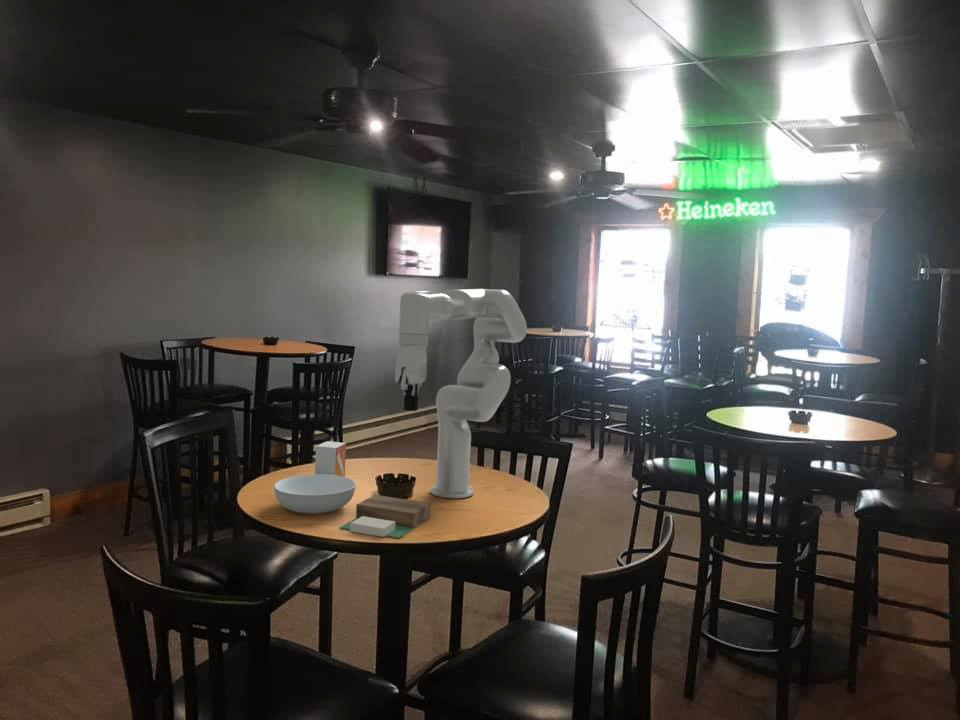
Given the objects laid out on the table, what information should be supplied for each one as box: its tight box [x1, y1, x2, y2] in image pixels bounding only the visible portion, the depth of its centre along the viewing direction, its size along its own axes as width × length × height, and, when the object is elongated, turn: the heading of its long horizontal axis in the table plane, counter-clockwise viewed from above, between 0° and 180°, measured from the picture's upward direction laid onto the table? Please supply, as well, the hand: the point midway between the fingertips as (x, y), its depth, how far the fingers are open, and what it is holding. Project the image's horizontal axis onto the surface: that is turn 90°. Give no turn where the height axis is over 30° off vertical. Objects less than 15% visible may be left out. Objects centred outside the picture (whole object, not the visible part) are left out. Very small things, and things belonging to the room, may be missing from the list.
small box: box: [314, 440, 347, 477], centre depth 215 cm, size 8×6×13 cm
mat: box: [339, 518, 414, 539], centre depth 181 cm, size 8×16×1 cm, turn 70°
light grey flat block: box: [350, 516, 395, 538], centre depth 179 cm, size 6×9×2 cm, turn 70°
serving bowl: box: [273, 473, 357, 515], centre depth 195 cm, size 21×21×7 cm
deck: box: [355, 494, 431, 530], centre depth 190 cm, size 10×16×4 cm, turn 70°
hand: (410, 409), depth 195 cm, fingers closed
